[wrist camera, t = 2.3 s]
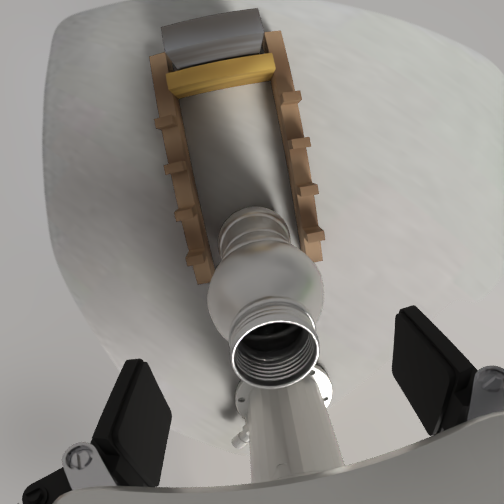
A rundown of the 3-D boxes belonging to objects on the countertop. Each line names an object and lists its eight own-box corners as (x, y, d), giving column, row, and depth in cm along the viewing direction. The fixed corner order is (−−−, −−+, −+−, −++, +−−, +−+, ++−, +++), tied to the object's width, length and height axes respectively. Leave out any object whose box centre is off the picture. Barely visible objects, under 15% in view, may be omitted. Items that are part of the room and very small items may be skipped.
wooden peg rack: (315, 251, 32) (341, 285, 23) (201, 273, 32) (188, 315, 23) (276, 41, 25) (290, 2, 17) (157, 65, 25) (128, 34, 17)
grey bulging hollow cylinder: (206, 229, 31) (158, 345, 12) (261, 188, 30) (302, 246, 11) (245, 278, 32) (254, 430, 13) (298, 240, 31) (378, 359, 12)
